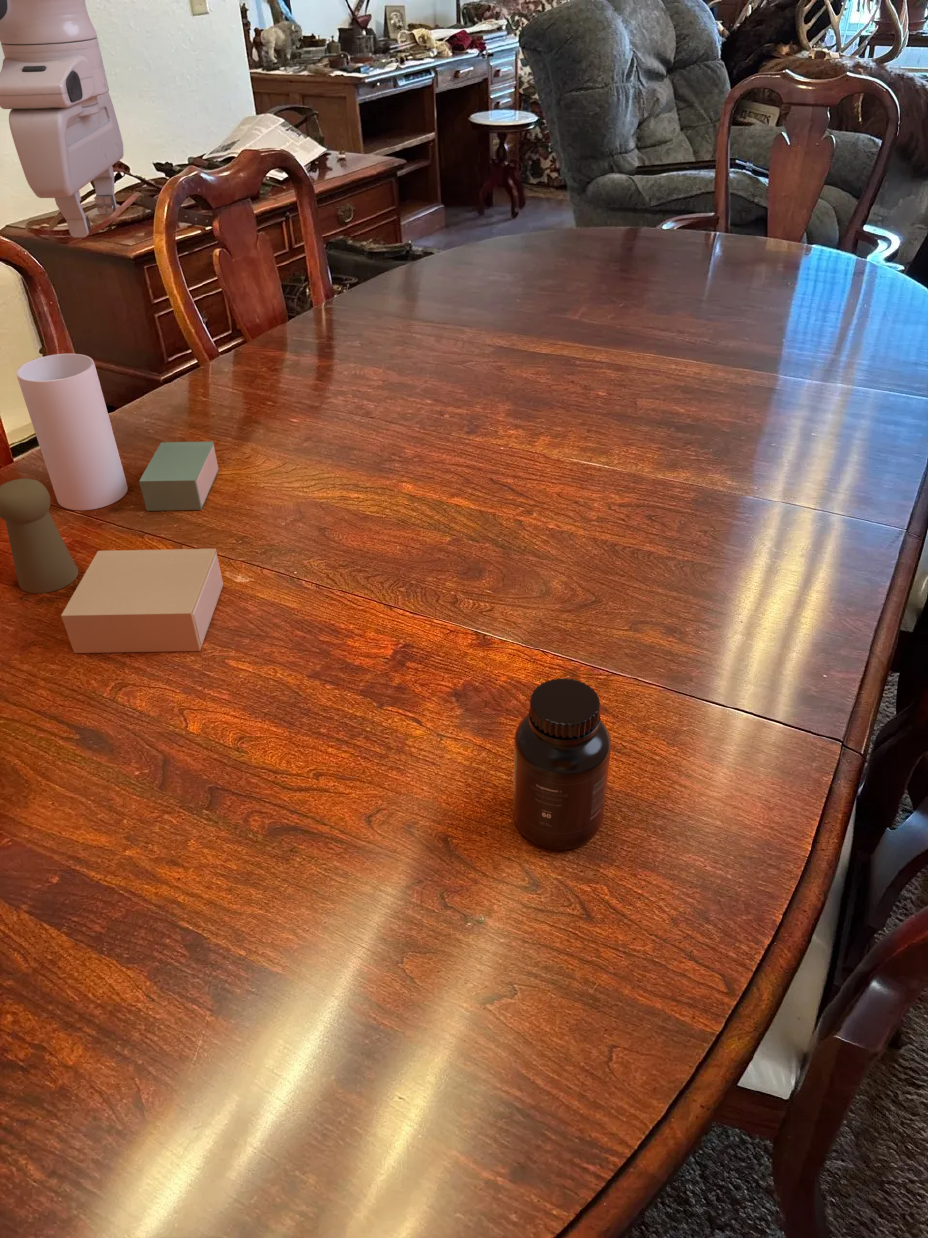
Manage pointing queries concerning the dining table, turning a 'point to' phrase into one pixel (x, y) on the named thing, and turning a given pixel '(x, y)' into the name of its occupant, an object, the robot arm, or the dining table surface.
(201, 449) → the sage green brick
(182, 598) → the tan flat block
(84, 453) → the cup
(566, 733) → the supplement bottle
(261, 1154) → the dining table surface
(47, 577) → the olive pawn piece
